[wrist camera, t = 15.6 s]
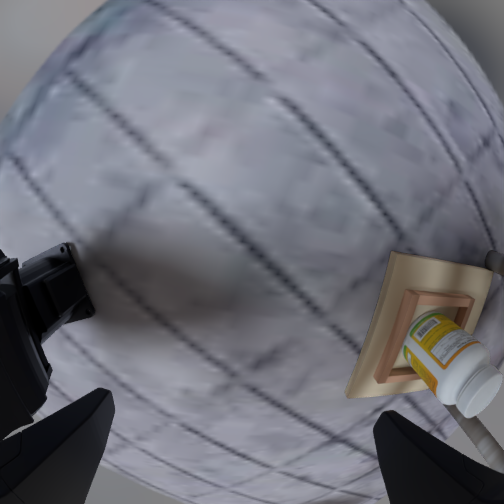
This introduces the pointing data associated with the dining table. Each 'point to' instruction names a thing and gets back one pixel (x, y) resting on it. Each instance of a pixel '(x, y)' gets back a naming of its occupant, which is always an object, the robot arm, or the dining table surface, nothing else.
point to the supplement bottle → (451, 363)
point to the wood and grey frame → (406, 312)
